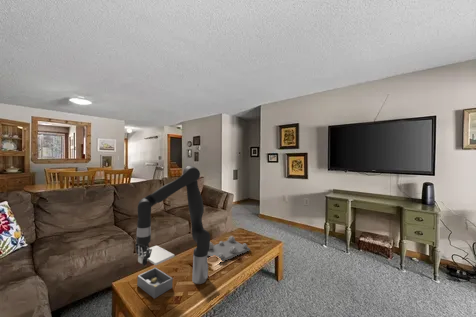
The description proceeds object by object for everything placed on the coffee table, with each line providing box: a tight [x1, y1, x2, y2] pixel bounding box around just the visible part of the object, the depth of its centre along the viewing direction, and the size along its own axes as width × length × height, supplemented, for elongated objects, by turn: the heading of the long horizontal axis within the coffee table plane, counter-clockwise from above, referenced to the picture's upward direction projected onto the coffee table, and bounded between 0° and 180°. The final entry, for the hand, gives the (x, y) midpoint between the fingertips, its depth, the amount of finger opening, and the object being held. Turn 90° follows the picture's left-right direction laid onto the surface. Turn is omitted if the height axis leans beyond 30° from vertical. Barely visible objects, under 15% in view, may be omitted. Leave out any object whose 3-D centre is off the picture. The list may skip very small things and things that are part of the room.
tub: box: [136, 266, 174, 300], centre depth 124 cm, size 12×18×6 cm, turn 55°
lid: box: [137, 245, 175, 266], centre depth 122 cm, size 17×19×4 cm
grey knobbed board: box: [208, 235, 251, 262], centre depth 173 cm, size 35×26×10 cm
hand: (142, 263), depth 117 cm, fingers closed on lid, 3 cm apart
